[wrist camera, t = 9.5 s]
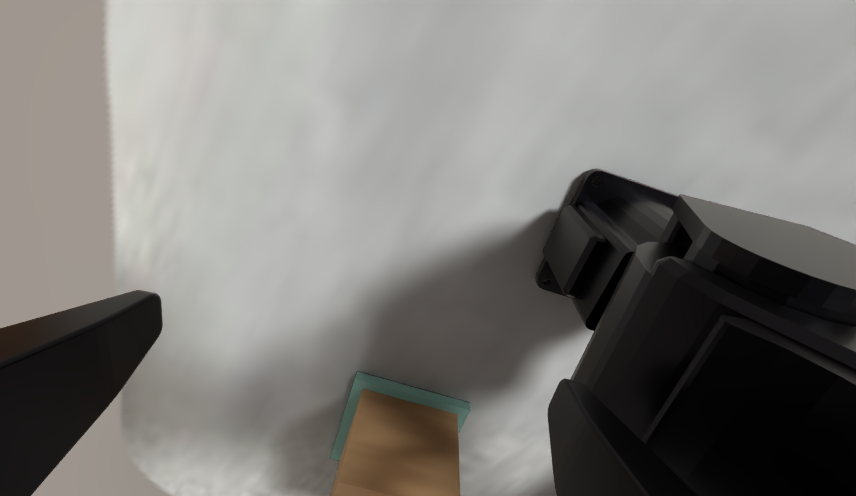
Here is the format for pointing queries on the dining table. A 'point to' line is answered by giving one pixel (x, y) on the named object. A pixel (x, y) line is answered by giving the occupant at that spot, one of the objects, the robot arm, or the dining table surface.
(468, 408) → the teal pad
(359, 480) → the walnut cube
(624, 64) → the dining table surface
